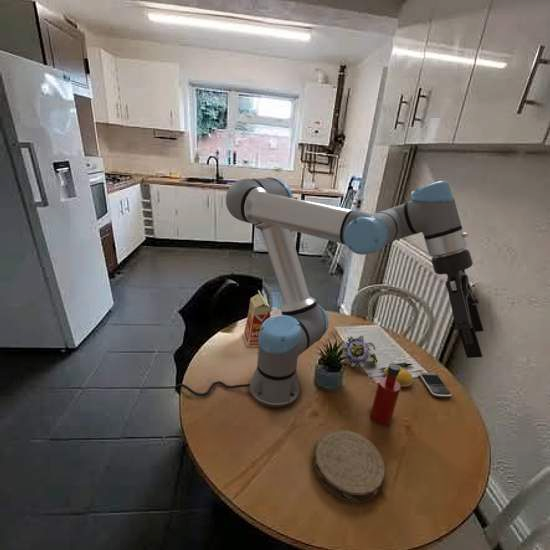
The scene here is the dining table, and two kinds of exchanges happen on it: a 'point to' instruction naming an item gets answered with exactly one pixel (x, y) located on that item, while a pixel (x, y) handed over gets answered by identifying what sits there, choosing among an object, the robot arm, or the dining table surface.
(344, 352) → the passion flower
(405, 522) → the dining table surface
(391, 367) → the hot sauce bottle
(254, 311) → the milk carton
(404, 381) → the yellow rounded piece
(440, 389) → the cell phone
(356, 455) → the woven round trivet
